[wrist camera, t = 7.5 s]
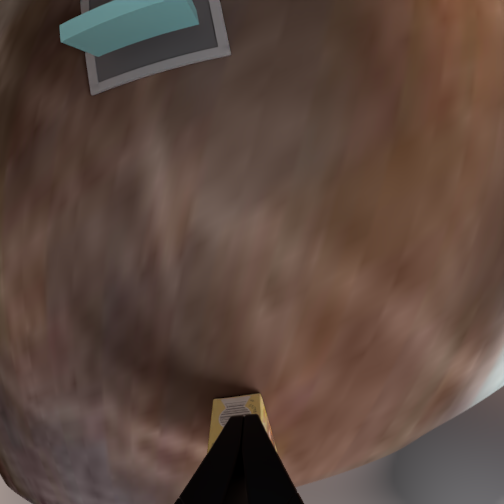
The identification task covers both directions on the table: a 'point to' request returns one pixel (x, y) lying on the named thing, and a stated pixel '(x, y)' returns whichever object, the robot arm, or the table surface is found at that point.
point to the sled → (126, 24)
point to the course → (159, 49)
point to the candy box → (234, 407)
